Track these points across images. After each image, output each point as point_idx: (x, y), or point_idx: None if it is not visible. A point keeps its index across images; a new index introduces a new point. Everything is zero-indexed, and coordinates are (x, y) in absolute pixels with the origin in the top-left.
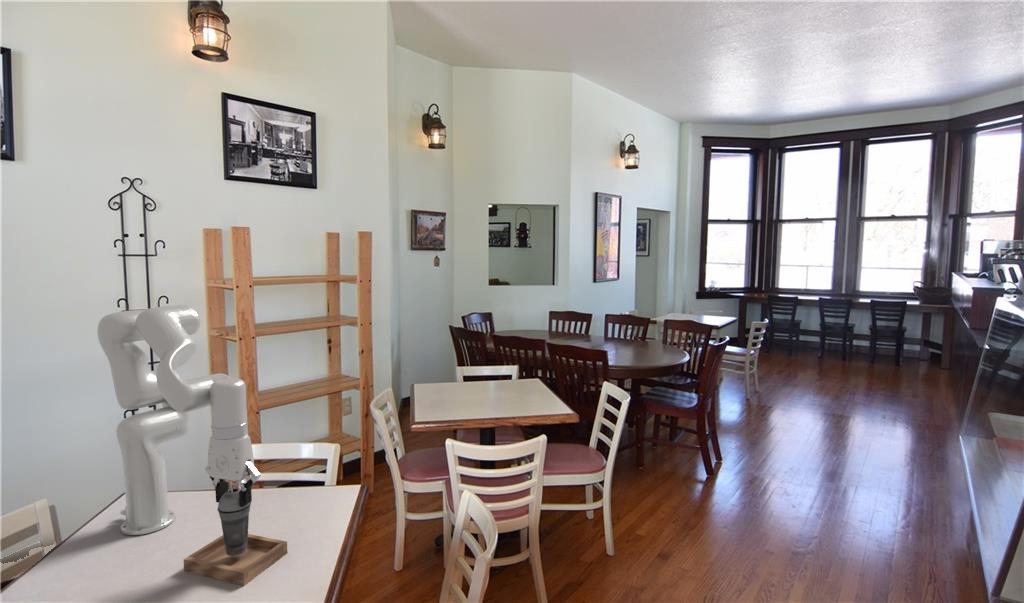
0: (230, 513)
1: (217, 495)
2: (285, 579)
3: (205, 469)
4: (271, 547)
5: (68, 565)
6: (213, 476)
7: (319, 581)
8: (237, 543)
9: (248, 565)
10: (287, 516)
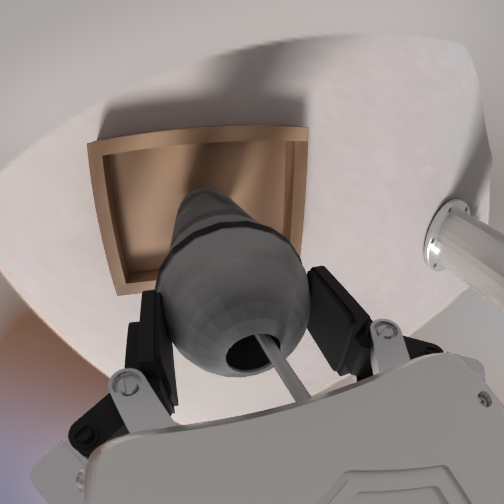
0: (188, 239)
1: (330, 288)
2: (39, 204)
3: (477, 361)
4: (153, 271)
5: (465, 109)
6: (420, 367)
7: None
8: (180, 209)
9: (143, 194)
10: None
